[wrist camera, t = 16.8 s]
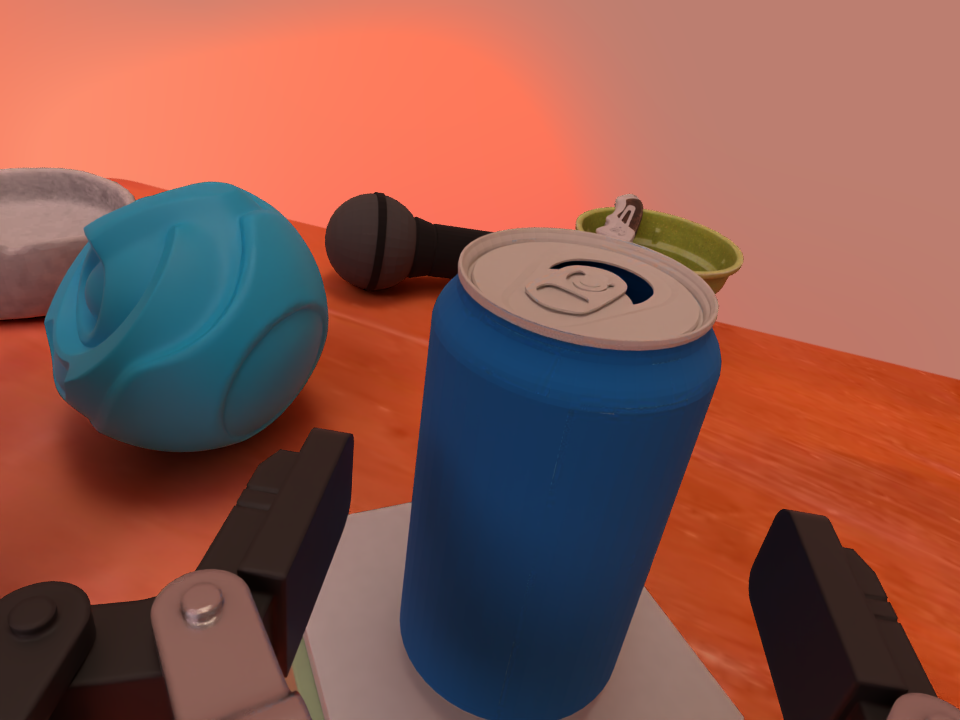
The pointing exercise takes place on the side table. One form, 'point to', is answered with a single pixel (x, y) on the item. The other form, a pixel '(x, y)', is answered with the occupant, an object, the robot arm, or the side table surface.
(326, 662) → the scale
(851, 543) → the side table surface
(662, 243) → the plant pot
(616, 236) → the pocket knife
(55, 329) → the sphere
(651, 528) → the beverage can
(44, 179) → the dish
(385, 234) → the microphone
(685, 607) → the side table surface
